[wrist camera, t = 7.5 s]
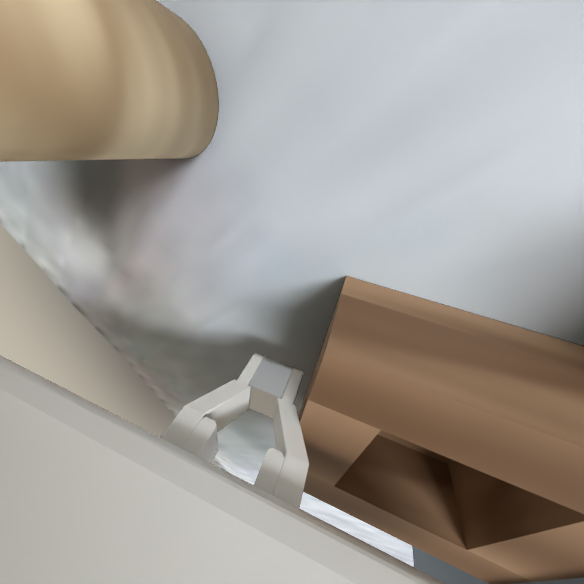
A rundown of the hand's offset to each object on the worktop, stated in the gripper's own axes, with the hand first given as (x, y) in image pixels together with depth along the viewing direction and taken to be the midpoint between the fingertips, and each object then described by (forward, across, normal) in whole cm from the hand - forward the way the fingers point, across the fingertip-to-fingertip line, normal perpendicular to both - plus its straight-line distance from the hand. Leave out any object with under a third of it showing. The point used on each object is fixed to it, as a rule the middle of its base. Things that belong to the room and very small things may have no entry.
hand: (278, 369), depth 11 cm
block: (+2, -7, 0) cm, 7 cm away
